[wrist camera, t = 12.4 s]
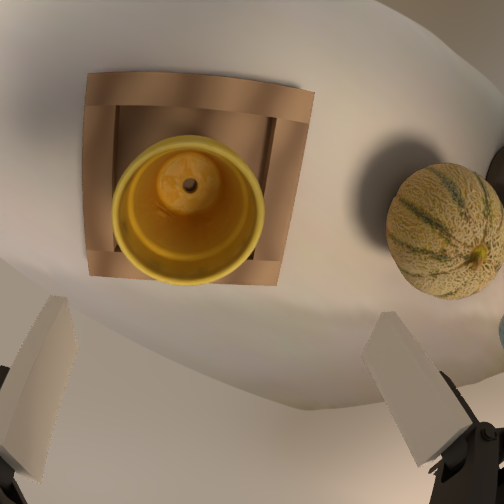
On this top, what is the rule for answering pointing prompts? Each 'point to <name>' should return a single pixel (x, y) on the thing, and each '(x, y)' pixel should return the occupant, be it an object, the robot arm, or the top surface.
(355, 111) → the top surface
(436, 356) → the top surface
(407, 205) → the cantaloupe
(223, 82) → the walnut tray
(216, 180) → the plant pot
